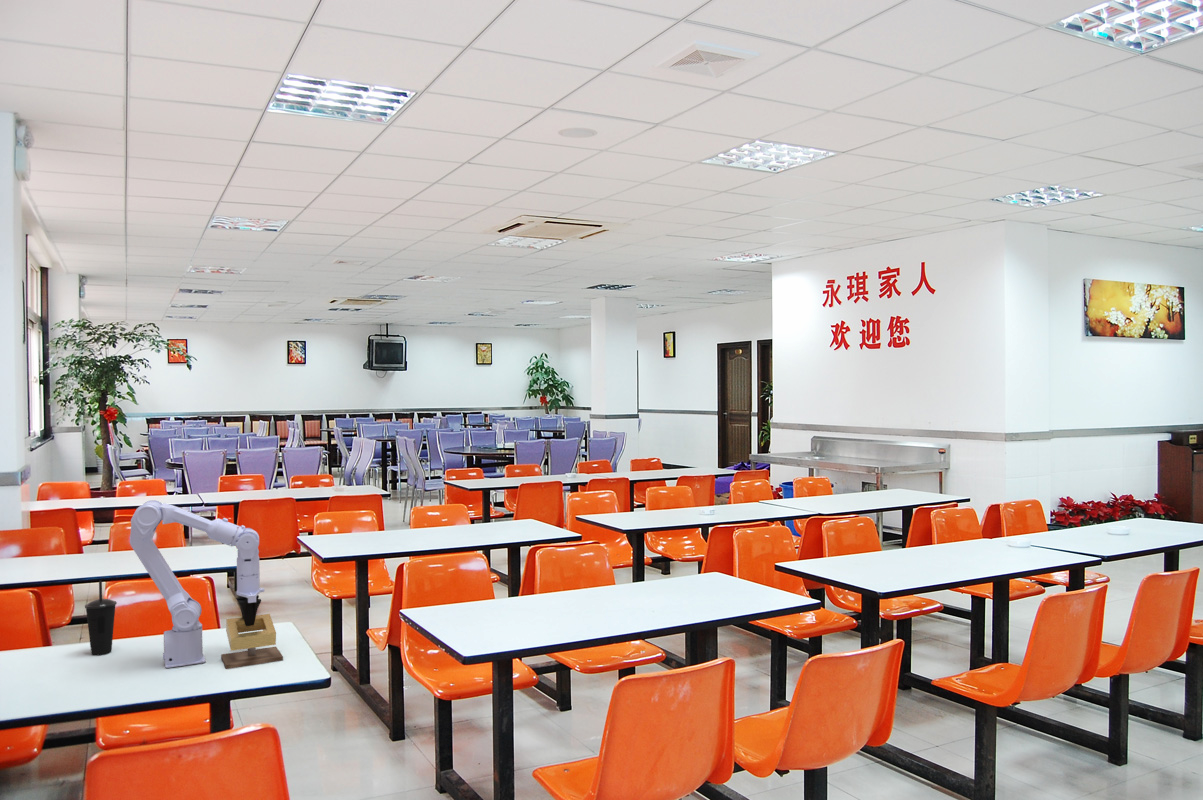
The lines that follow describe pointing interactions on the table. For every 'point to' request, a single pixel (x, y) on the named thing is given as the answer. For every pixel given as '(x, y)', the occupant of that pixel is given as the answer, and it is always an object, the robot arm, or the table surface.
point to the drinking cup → (100, 624)
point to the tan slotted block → (250, 633)
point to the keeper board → (251, 657)
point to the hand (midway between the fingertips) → (249, 624)
